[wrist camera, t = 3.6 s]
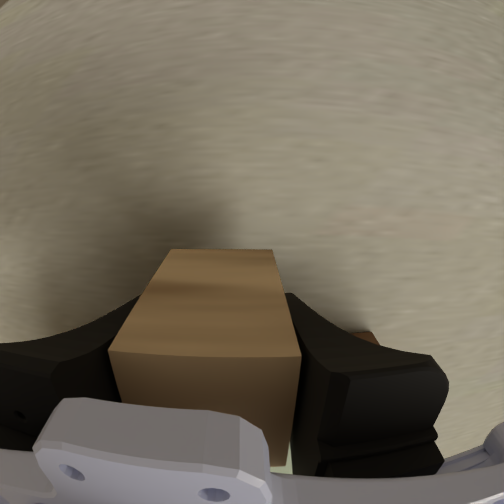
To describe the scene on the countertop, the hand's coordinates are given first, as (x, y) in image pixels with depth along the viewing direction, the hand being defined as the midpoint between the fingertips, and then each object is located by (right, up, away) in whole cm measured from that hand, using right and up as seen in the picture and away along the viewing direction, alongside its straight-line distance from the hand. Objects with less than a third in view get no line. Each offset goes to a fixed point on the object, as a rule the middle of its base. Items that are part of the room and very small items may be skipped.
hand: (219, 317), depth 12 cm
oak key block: (0, +1, +2) cm, 2 cm away
